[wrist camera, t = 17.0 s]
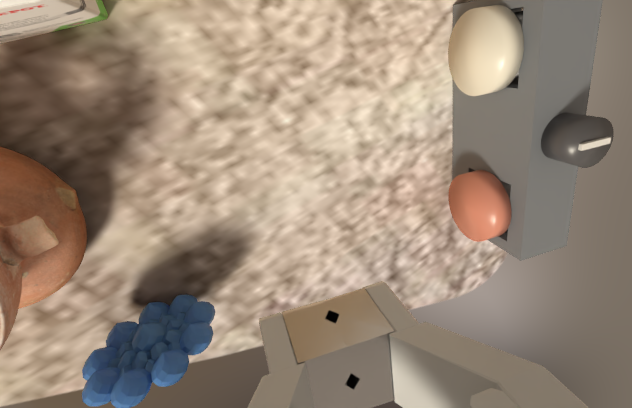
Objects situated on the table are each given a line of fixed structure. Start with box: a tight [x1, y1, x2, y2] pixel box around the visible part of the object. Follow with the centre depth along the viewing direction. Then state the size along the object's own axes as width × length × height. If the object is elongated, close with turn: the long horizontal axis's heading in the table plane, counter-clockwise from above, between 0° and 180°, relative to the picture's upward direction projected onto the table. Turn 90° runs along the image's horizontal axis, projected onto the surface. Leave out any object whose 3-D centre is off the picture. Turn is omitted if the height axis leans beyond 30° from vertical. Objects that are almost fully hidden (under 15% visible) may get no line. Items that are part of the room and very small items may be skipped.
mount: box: [452, 0, 603, 261], centre depth 37 cm, size 24×6×11 cm, turn 8°
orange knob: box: [449, 170, 511, 241], centre depth 39 cm, size 7×8×7 cm
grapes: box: [82, 294, 215, 408], centre depth 34 cm, size 12×7×12 cm, turn 101°
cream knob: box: [448, 5, 524, 96], centre depth 33 cm, size 7×8×7 cm
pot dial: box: [541, 113, 613, 168], centre depth 30 cm, size 4×4×3 cm
